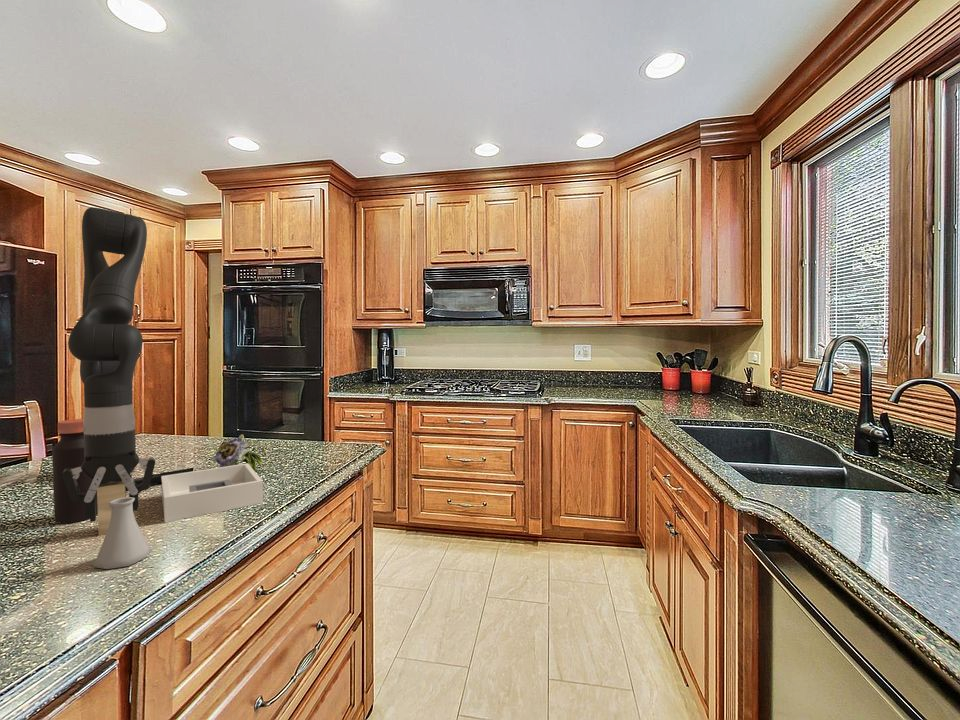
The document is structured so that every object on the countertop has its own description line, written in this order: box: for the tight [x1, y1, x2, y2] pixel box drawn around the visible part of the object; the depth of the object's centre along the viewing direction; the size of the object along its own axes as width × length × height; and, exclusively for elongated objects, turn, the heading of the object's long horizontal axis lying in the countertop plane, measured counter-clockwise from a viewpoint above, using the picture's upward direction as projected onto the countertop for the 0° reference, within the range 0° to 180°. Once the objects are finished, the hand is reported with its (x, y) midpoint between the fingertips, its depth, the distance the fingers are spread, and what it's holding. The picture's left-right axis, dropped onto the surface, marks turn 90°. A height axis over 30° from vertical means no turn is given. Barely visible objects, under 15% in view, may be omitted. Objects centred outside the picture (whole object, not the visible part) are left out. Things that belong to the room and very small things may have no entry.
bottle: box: [51, 418, 98, 524], centre depth 90 cm, size 7×7×20 cm
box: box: [161, 462, 264, 523], centre depth 100 cm, size 18×18×5 cm
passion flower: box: [210, 433, 268, 473], centre depth 124 cm, size 11×11×12 cm
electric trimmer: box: [126, 467, 195, 493], centre depth 112 cm, size 4×16×3 cm, turn 137°
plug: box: [97, 481, 127, 537], centre depth 84 cm, size 4×4×9 cm
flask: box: [93, 496, 152, 570], centre depth 73 cm, size 7×7×10 cm
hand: (112, 516), depth 84 cm, fingers open, 5 cm apart
